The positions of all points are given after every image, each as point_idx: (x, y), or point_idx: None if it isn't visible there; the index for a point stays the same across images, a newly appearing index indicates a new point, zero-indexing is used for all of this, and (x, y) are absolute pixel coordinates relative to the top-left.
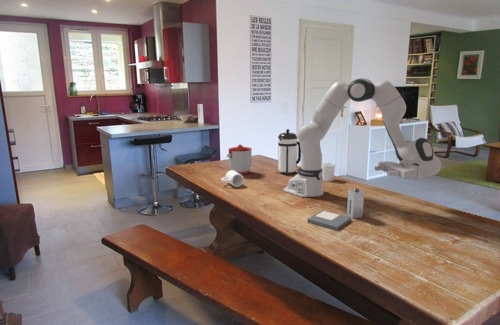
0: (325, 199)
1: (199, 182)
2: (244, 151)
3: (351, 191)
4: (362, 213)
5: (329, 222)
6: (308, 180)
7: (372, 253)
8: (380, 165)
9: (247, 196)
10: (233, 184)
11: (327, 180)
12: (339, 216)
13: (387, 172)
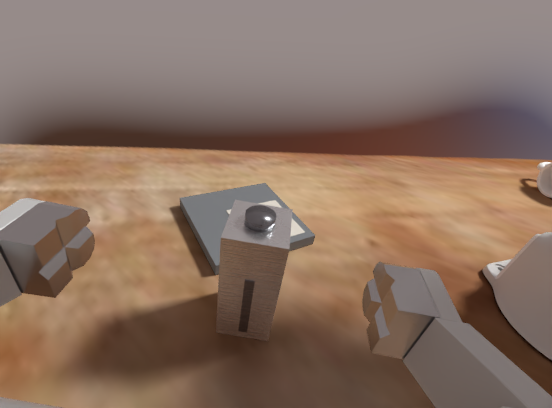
0: None
1: None
2: None
3: (261, 204)
4: (217, 320)
5: (216, 201)
6: (547, 241)
7: (19, 192)
8: (524, 398)
9: (462, 183)
10: (538, 181)
11: None
12: None
13: (79, 217)
